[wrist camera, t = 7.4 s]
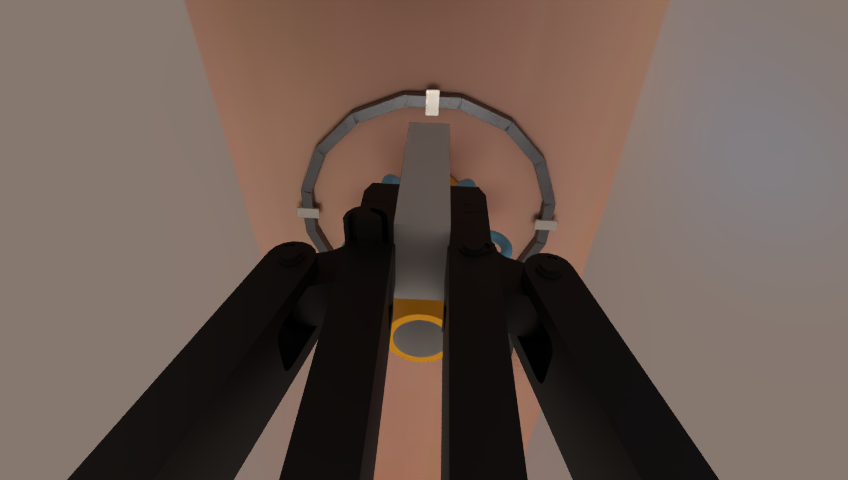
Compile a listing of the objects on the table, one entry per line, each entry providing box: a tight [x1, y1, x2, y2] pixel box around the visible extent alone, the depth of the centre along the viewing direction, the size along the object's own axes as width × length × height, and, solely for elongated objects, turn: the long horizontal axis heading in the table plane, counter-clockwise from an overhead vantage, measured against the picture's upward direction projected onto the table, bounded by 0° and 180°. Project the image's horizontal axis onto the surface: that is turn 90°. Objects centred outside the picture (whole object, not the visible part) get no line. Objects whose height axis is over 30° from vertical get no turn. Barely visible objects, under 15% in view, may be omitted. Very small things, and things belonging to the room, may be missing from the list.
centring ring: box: [297, 89, 558, 263], centre depth 39 cm, size 21×21×1 cm
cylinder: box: [342, 174, 512, 362], centre depth 32 cm, size 12×10×15 cm
